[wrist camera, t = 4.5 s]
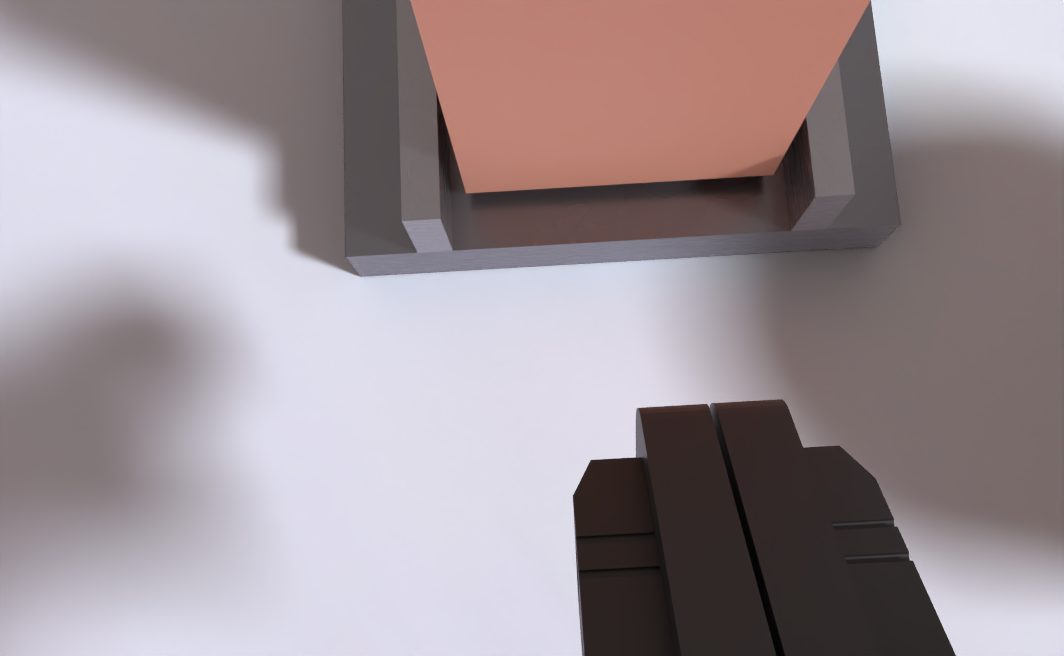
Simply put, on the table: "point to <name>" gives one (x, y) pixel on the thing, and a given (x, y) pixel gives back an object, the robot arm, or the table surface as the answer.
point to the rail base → (593, 211)
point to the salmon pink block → (626, 85)
